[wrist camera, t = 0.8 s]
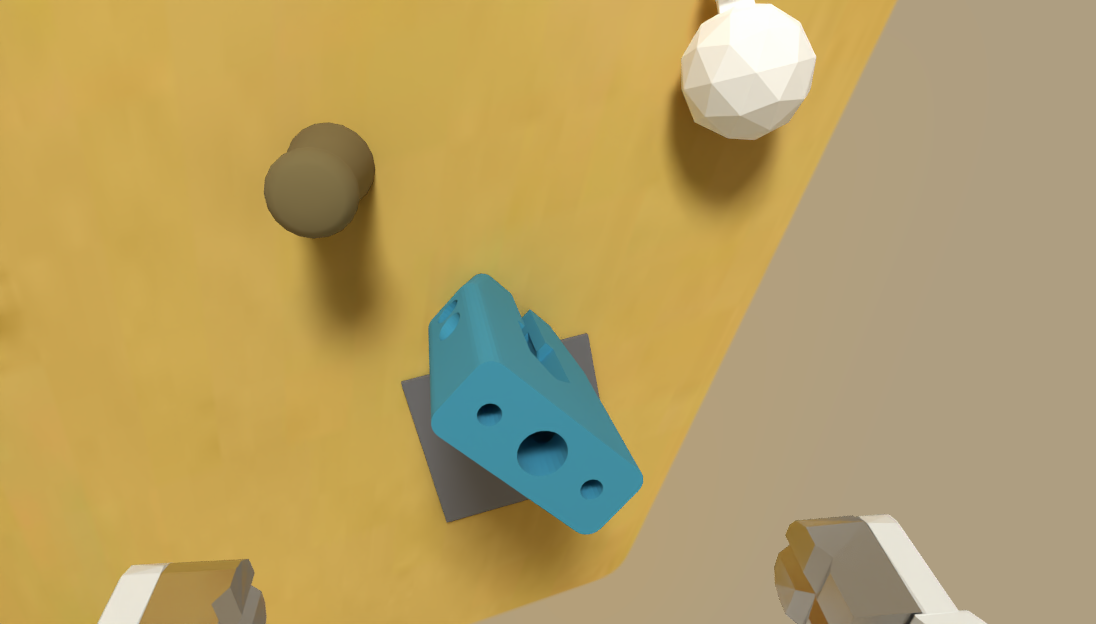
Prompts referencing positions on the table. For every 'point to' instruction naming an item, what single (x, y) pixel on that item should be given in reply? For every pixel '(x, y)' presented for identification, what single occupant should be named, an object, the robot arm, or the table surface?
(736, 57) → the white faceted ball
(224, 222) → the table surface
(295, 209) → the cork
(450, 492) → the mat
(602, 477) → the block
